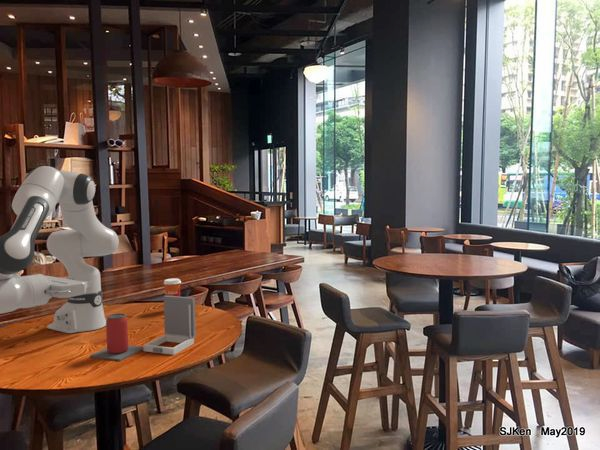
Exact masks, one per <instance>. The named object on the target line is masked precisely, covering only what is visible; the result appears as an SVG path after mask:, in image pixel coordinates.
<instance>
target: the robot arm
mask: <svg viewBox="0 0 600 450" xmlns="http://www.w3.org/2000/svg"><path fill="white" fill-rule="evenodd" d="M95 193H96V181H95V180H94V179H93V177H91V176H90V175H88V174H86V173H77V172H73V171H70V170H69V171H68V170H58V169H57V168H55V167H53V166H49V165H43V166H41V165H40V166H37V168H35V169H31V170H30V171H29V172H28V173H27V174H26V175H25V178H24V181H22V183H21V184H20V185H19V187H18V189H17V191H16V193H15V195H14V197H13V200H12V203H11V209H12V210H13V212H14V214H15V215H16V216H17V217H16V219H15V221H14V223H13V224H12V227H11V228H10V230H9V231H7V232H6V233H4V234H2V235H0V315H1V314H6V313H10V312H11V313H12V312H14V311H16V310H19V309H28V308H33V307H39V306H42V305H43V306H44V305H46V304H48V302H49V301H50V299H52V298H53V297H54V298H58V299H65V298H67V299H66V302H65V303H64V304H63V305H62V306H61V307H60V308H58V309H57V310H56V311H55V312H54V316H53V322H52V323H50V324H48V325H47V326H46V327H47V329H48V330H53V331H58V332H62V333H66V334H74V333H80V332H81V333H83V332H90V331H95V330H99V329H102V328H104V327H106V321H107V317H106V316H105V311H104V306H103V290H102V284H101V283H102V282H101V281H102V280H101V272H100V269H98V268H96V267H95V266H93V265H91V264H88V263H87V262H86V261H85V260H84V258H86V257H87V258H88V257H104V256H107V255H112V254H114V253H116V251H117V250H118V248H119V243H120V240H119V236H118V234H117V233H116V232H115V230H113V229H111V228H109V227H107V226H105V225H104V224H103V223H102V222H101V221H100V220H99V218H98V217H97V215H96V212H95V209H94V207H95V206H94V203H93V199H94V198H95V195H96V194H95ZM57 204H59V207H60V209H59V210H60V212H61V213H60V214H61V217H62V222H63V223H64V224H65V226H66V227H68V228H69V229H68V228H67V229H61V230H57V231H53V232H51V233H50V234H49V235H48V238H47V239H46V249H47V251H48V252H49V254H50V255H51V256H53V257H54V258H56V259H57V260H59V261H60V262H61V263H62V264H63V266H64V267H65V269H66V271H67V274H68V277H57V276H51V275H44V274H42V273H36V274H31V275H22V276H21V275H20V274H19V273H20V272H22V271H23V270H25V269H28V267H29V266H30V265H31V264H32V263H33V261H34V258H35V245H36V244H35V243H36V239H37V237H38V234H39V233H40V231H41V229H42V226H43V225H44V222H45V220H47V219H48V218H49V216H50V215H51V213H52V212H53V211H54V209H55V208H56V205H57Z"/></svg>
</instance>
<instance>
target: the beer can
mask: <svg viewBox="0 0 600 450" xmlns="http://www.w3.org/2000/svg"><path fill="white" fill-rule="evenodd" d="M105 331H106V333H105V334H106V348H107V352H108V353H110V354H120V353H123V352H126V351H127V350H128V345H129V335H128V334H129V333H128V319H127V317H126V314H125V313H113V314H110V315H107V317H106V326H105Z"/></svg>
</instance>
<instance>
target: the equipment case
mask: <svg viewBox="0 0 600 450" xmlns="http://www.w3.org/2000/svg"><path fill="white" fill-rule="evenodd" d="M195 300H196V298H195V297H190V296H189V297H187V296H180V297H178V296H165V295H163V315H164V335H162V336H159V337H158V338H155V339H153V340H151V341H149V342H147V343H145V344H143V346H142V347H143V350H142V351H143V352H148V353H149V352H150V353H156V354H163V355H164V354H165V355H172V356H175V355H176V354H179V353H180V352H182V351H183V350H186V349H188V348H189V347H190V346H192V345H194V344H195V339H196V338H197V333H196V332H197V330H196V329H197V327H196V301H195ZM166 342H169V343H177V345H175V346H174V347H171V346H162V345H161V344H164V343H166Z"/></svg>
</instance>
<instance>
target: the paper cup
mask: <svg viewBox="0 0 600 450" xmlns="http://www.w3.org/2000/svg"><path fill="white" fill-rule="evenodd" d="M181 283H182V281H181V279H180V278H166V279H164V281H163V287H164V296H178V297H181Z"/></svg>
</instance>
